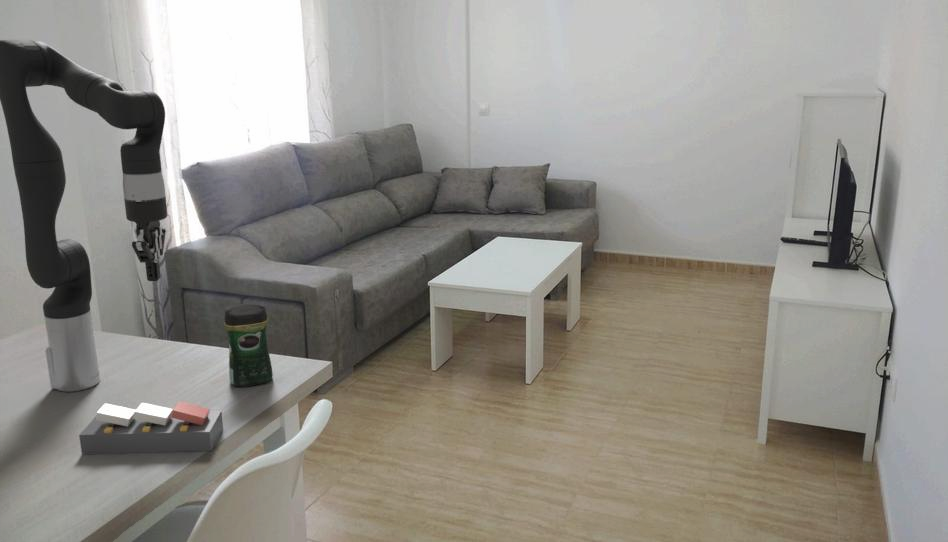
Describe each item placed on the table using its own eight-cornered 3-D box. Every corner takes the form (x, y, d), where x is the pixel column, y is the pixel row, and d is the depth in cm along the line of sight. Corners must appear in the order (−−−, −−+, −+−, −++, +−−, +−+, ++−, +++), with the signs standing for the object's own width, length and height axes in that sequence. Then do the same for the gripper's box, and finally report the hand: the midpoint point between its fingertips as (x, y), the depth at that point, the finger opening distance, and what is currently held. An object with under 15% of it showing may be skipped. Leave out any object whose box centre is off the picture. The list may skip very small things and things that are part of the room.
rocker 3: (171, 417, 149) (172, 410, 148) (177, 408, 153) (179, 401, 152) (202, 425, 150) (204, 418, 149) (208, 416, 153) (209, 408, 153)
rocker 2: (133, 419, 148) (134, 411, 148) (140, 409, 152) (141, 402, 152) (165, 425, 149) (166, 418, 149) (171, 416, 153) (173, 409, 152)
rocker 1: (95, 419, 148) (96, 412, 147) (103, 410, 152) (105, 403, 151) (127, 426, 149) (129, 419, 148) (135, 417, 152) (136, 409, 152)
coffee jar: (270, 371, 185) (265, 296, 180) (274, 384, 178) (269, 307, 173) (228, 376, 182) (221, 301, 177) (230, 390, 175) (223, 312, 170)
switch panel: (82, 454, 147) (78, 430, 146) (101, 431, 156) (97, 408, 154) (211, 450, 148) (209, 427, 147) (223, 428, 157) (221, 406, 156)
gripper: (137, 189, 158) (146, 271, 163) (112, 201, 146) (122, 290, 150) (174, 189, 159) (182, 271, 164) (153, 201, 146) (162, 289, 151)
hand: (154, 280), depth 157 cm, fingers closed
